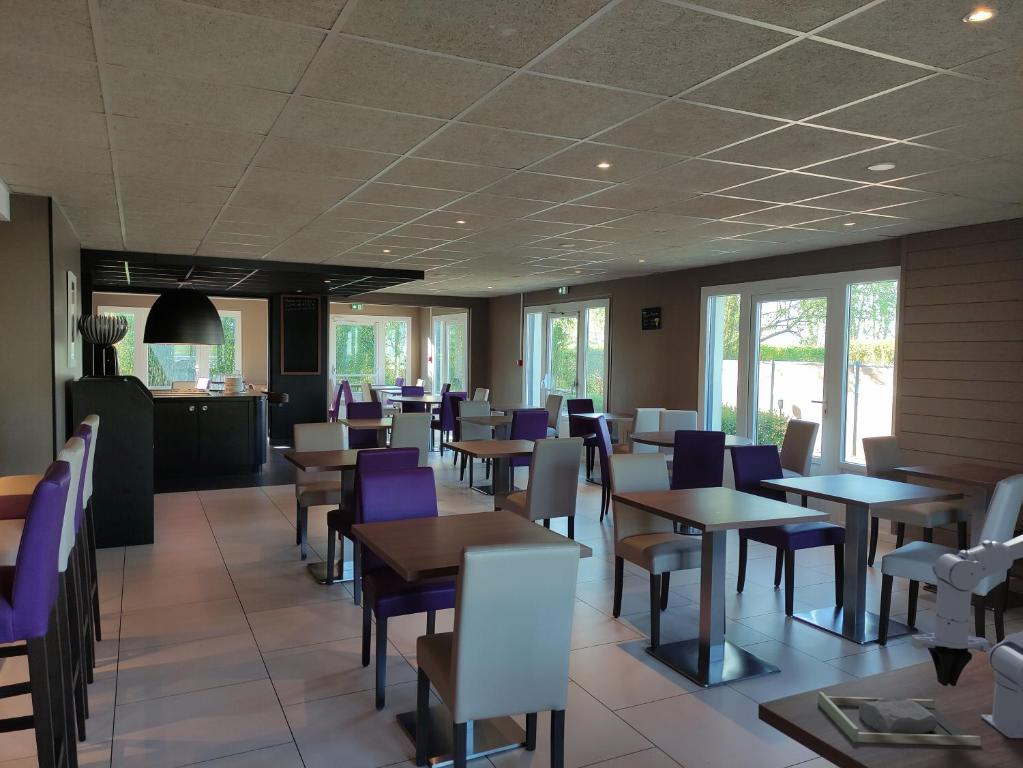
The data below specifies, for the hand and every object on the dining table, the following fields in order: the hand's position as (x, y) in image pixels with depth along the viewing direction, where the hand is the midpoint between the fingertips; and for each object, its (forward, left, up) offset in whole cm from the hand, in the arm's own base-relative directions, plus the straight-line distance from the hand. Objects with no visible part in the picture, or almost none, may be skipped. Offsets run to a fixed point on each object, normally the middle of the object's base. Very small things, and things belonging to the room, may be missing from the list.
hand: (946, 683), depth 142 cm
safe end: (+22, 0, -8) cm, 23 cm away
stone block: (+10, 0, -8) cm, 13 cm away
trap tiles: (+1, 0, -8) cm, 8 cm away
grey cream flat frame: (+9, 0, -8) cm, 13 cm away
